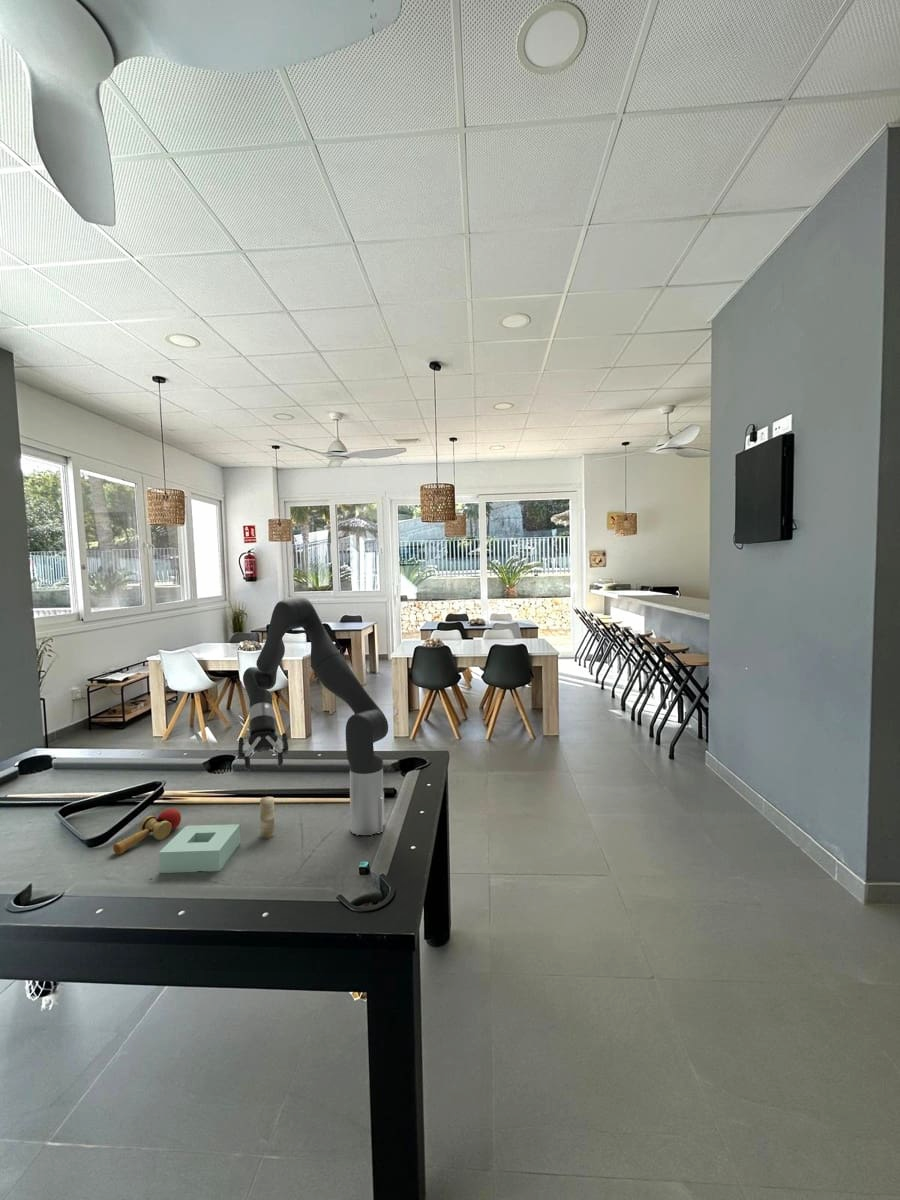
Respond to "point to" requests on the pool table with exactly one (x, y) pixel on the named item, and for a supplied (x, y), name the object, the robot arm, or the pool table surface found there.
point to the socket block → (199, 848)
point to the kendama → (151, 829)
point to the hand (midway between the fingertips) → (264, 768)
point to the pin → (267, 817)
